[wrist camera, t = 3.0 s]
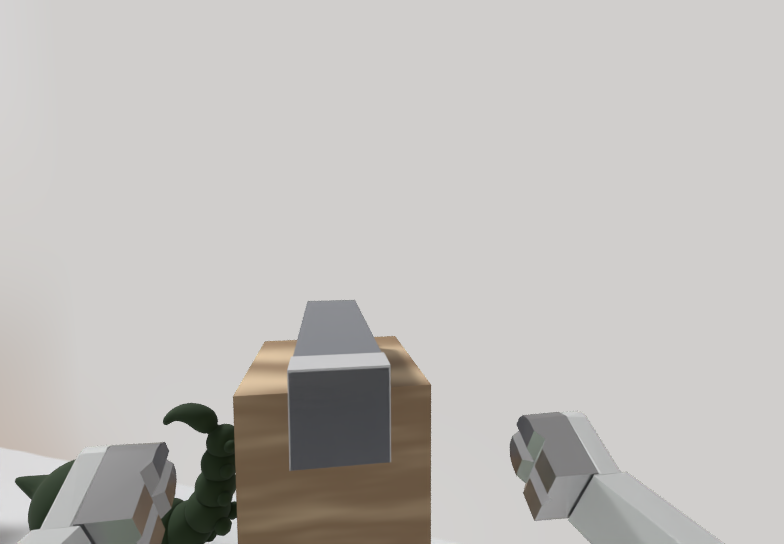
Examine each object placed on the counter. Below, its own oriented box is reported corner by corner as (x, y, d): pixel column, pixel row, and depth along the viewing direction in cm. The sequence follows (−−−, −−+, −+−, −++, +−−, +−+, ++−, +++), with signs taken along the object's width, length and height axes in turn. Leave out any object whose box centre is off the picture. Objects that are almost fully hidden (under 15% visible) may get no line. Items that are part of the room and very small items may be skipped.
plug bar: (391, 462, 18) (390, 365, 18) (289, 470, 17) (287, 370, 17) (355, 345, 38) (355, 298, 37) (308, 347, 37) (306, 300, 37)
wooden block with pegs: (430, 759, 29) (430, 346, 27) (246, 795, 27) (231, 354, 25) (396, 592, 43) (395, 310, 41) (272, 609, 41) (264, 314, 39)
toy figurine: (248, 544, 52) (49, 522, 53) (258, 393, 51) (53, 373, 52) (213, 611, 43) (-28, 583, 44) (224, 428, 42) (-26, 402, 42)
